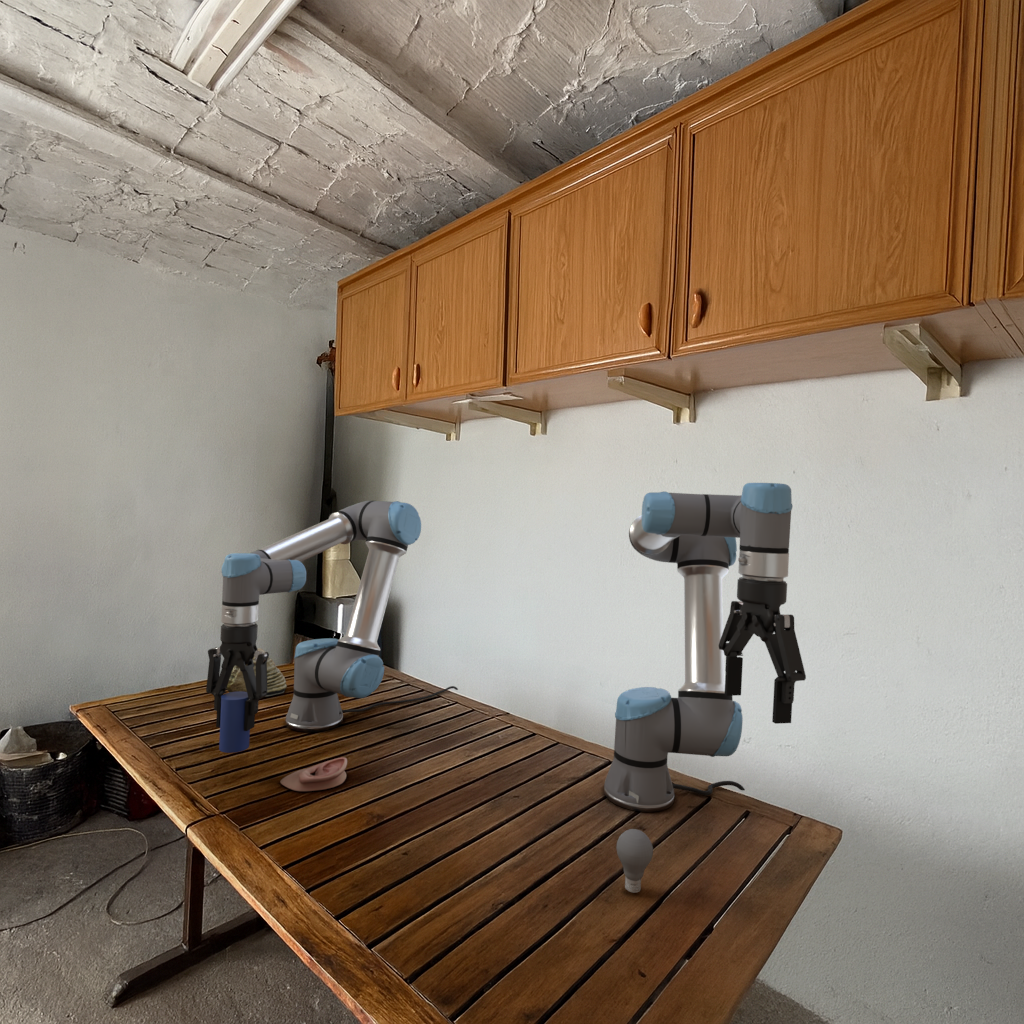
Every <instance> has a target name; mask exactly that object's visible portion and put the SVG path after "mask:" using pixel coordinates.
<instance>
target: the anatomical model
mask: <svg viewBox="0 0 1024 1024" xmlns="http://www.w3.org/2000/svg"><path fill="white" fill-rule="evenodd" d="M347 766H348V758H347V757H343V756H342V757H338V758H334V759H330V760H327V761H326V760H325V761H324V762H320V763H318V764H316V765H313V766H310V767H307V768H303V769H299V770H296V771H294V772H292V773H290V774H288V775H286V776H284V777H282V779H280V782H279V783H280V785H282V786H283V787H285V788H286V789H289V790H292V791H295V792H312V791H313V792H314V791H322V790H327V789H331V788H335V787H338V786H341V785H342V784H343V783H344V782H345V781H346V779H347V773H346V771H345V770H346V769H347Z"/></svg>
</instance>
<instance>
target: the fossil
mask: <svg viewBox="0 0 1024 1024" xmlns="http://www.w3.org/2000/svg"><path fill="white" fill-rule="evenodd" d="M257 649H258V651H261V652H263V653H264V652H265V650H264V649H263V648H260V647H257ZM253 663H254V667H253V669H254V673H255V677H256V661H255V656H254V657H253ZM246 666H247V665H246ZM287 687H288V686H287V680H286V678H285V676H284V674H283V673H282V672H281V669H279V668H278V667H277V665H276V663H275V662H274V660H273V659H272V658H271V657H270V656H269V657H268V660H267V695H266V696H265V697H271V696H275V695H281V694H284V693H285V691H286V689H287ZM226 691H227V692H228V693H230V692H238V691H242V692H247V690H246V686H245V682H244V678H243V673H242V671H240V667H238V666H236V665H235V666H234V667H233V670H232V673H231V676H230V679H229V682H228V685H227V687H226Z"/></svg>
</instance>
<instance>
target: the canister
mask: <svg viewBox="0 0 1024 1024" xmlns="http://www.w3.org/2000/svg"><path fill="white" fill-rule="evenodd" d="M248 699H249V698H248V694H247V692H242V691H238V692H226V693H224V694H223V695H222V696H221V716H220V727H219V743H218V750H219V751H220V752H222V753H227V754H232V753H240V752H243V751H245V750H246V751H247V749H249V748H250V737H251V735H250V734H251V732H250V731H251V729H250V730H248V731H244V718H245V701H247V700H248Z"/></svg>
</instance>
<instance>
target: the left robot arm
mask: <svg viewBox="0 0 1024 1024" xmlns="http://www.w3.org/2000/svg"><path fill="white" fill-rule="evenodd" d="M421 532H422V520H421V517H420V515H419V512H418V510H417V509H416V507H415V506H414V505H412V504H411V503H408V502H401V501H399V500H395V501H387V500H386V501H385V500H364V501H360V502H357V503H355V504H352V505H349V506H347V507H344V508H342V509H340V510H337V511H335V512H332V513H330V514H329V516H328V519H326V520H323V521H321V522H319V523H316V524H315V525H311V526H309V527H307V528H305V529H303V530H300V531H298V532H296V533H293V534H291V535H289V536H287V537H284V538H282V539H280V540H278V541H277V540H276V541H275V542H273V543H271V544H268V545H266V546H263V547H261V548H259V549H257V550H253V551H251V552H250V553H248V552H244V553H243V552H242V553H241V552H236V553H229V554H227V555H226V556H225V557H224V561H223V563H222V565H221V575H222V591H221V592H222V593H221V594H222V597H221V616H220V617H221V619H220V620H221V621H220V622H221V623H222V625H221V626H220V642H221V643H220V646H219V647H218V646H215V647H211V648H209V649H208V650H207V655H208V670H207V678H206V688H205V692H206V693H207V694H211V695H213V697H214V700H213V710H214V712H215V711H216V719H215V721H216V722H215V728H220V716H221V696H222V695H224V694H226V693H228V690H227V689H226V687H227V685H228V682H229V679H230V676H231V673H232V670H233V667H234V666H235V665H236V666H238V667H240V671H242V673H243V678H244V682H245V686H246V690H247V694H248V698H249V699H248V700H247V701H245V718H244V731H248V730H250V731H251V730H252V729H253V728H255V721H256V720H255V719H256V718H255V717H256V715H257V714H258V713H259V702H260V701H259V700H261V699H263V698H264V697H267V696H266V695H267V660H268V657H269V658H270V653H269V652H268V651H264V653H263V652H261V651H258V649H257V648H258V647H257V640H258V629H259V625H258V624H257V622H258V621H259V606H260V605H259V604H260V596H262V595H269V594H282V593H291V592H295V591H296V592H297V591H300V590H301V589H302V588H303V587H304V586H305V585H306V582H307V569H306V567H305V565H304V564H303V562H304V561H306V560H308V559H311V558H312V557H314V556H317V555H319V554H321V553H323V552H325V551H327V550H329V549H332V548H333V547H335V546H338V545H340V544H341V545H348V544H350V543H352V542H355V541H365V545H366V547H367V548H368V553H367V556H366V560H365V564H364V567H363V571H362V574H361V577H360V581H359V585H358V589H357V592H356V596H355V599H354V603H353V605H352V609H351V614H350V617H349V621H348V624H347V627H346V631H345V634H344V635H343V636H342V637H340V638H339V639H338V638H335V637H334V638H331V637H329V638H315V639H308V640H304V641H301V642H299V643H298V644H297V645H296V646H295V652H294V656H293V659H294V661H293V662H294V668H293V669H294V670H293V695H292V696H293V697H292V699H291V702H290V704H289V708H288V711H287V713H286V715H285V726H286V728H287V729H289V730H291V731H294V732H295V731H296V732H301V733H316V732H325V731H329V730H332V729H335V728H337V727H339V726H340V725H342V723H343V722H344V714H343V713H358V712H359V713H360V712H364V711H367V710H370V709H373V708H375V707H379V706H385V705H392V704H405V703H411V702H417V701H421V700H425V699H429V698H432V697H434V696H437V695H440V694H442V693H444V692H447V691H448V690H450V689H454V690H455V691H458V690H459V688H458V687H457V686H455V685H450V686H448V687H446V688H444V689H441V690H438V691H436V692H434V693H431V694H428V695H424V696H421V697H415V698H409V699H403V700H393V701H383V702H378V703H374V704H371V705H369V706H368V705H367V706H366V707H363V708H358V709H357V708H355V709H342V706H341V702H340V699H339V695H342V696H344V697H346V698H355V699H365V698H367V697H369V696H370V695H372V693H374V692H375V691H376V690H377V689H378V687H379V686H380V685H381V683H382V681H383V678H384V674H385V666H384V662H383V659H382V658H381V657H380V654H381V647H380V646H379V644H378V639H379V635H380V631H381V628H382V623H383V620H384V617H385V612H386V609H387V605H388V601H389V597H390V594H391V590H392V587H393V583H394V579H395V575H396V571H397V567H398V564H399V560H400V558H401V557H402V556H404V555H406V554H407V551H408V548H409V546H410V545H413V544H415V543H416V541H418V540H419V538H420V535H421ZM254 656H255V661H256V677H255V673H254V669H253V667H254V663H253V657H254ZM222 657H223V660H222ZM246 665H247V666H246ZM338 694H339V695H338Z"/></svg>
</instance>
